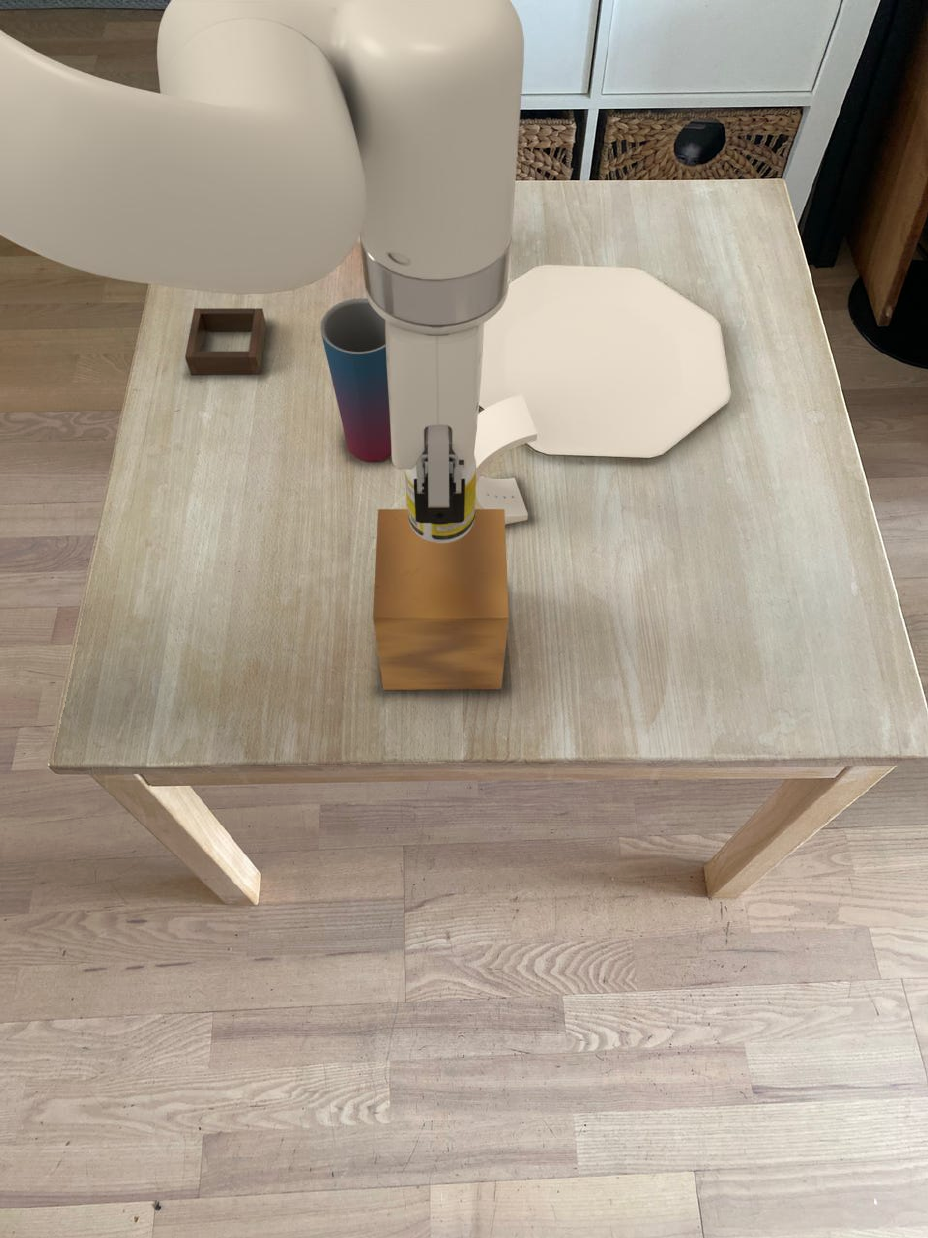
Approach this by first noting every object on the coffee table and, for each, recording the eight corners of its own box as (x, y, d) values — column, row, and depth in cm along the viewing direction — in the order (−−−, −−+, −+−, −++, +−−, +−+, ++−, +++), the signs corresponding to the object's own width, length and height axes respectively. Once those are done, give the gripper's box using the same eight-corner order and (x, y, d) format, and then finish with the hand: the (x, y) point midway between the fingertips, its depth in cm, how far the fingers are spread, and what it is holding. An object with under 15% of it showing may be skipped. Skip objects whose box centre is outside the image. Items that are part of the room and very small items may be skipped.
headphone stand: (527, 520, 88) (537, 434, 77) (465, 532, 87) (467, 447, 76) (514, 482, 90) (522, 394, 79) (453, 494, 89) (454, 406, 79)
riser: (383, 690, 78) (372, 618, 68) (386, 590, 83) (377, 508, 73) (501, 689, 79) (508, 617, 68) (497, 589, 84) (504, 508, 73)
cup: (346, 413, 94) (329, 294, 81) (412, 420, 94) (406, 302, 81) (331, 465, 91) (312, 348, 78) (400, 473, 90) (392, 357, 77)
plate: (737, 469, 91) (741, 459, 90) (457, 460, 91) (457, 450, 90) (709, 280, 105) (712, 269, 104) (466, 272, 105) (466, 261, 104)
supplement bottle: (485, 505, 67) (489, 426, 59) (457, 554, 64) (458, 479, 57) (425, 482, 68) (422, 402, 60) (396, 530, 65) (389, 453, 58)
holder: (260, 374, 97) (255, 356, 94) (190, 374, 97) (184, 356, 94) (266, 326, 100) (262, 307, 98) (199, 326, 100) (194, 307, 98)
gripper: (369, 159, 51) (388, 394, 67) (355, 383, 43) (380, 593, 58) (504, 159, 51) (491, 394, 67) (517, 383, 43) (499, 592, 59)
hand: (439, 484), depth 63 cm, fingers closed on supplement bottle, 4 cm apart
